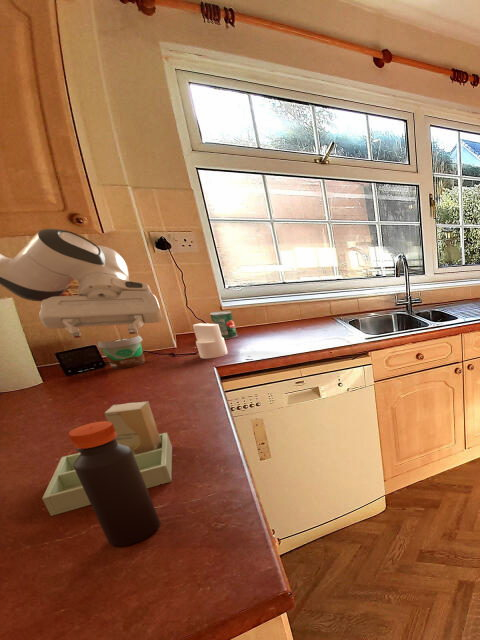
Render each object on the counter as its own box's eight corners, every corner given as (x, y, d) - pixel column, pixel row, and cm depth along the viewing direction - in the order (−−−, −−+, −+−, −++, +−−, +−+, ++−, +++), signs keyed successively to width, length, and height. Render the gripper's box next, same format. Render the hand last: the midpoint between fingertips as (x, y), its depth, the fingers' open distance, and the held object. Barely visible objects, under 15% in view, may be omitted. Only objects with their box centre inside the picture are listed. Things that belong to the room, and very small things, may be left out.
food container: (112, 372, 147) (102, 344, 143) (106, 368, 150) (96, 341, 146) (155, 362, 156) (146, 336, 153) (148, 359, 159) (139, 333, 156)
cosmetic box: (122, 465, 89) (101, 413, 85) (131, 455, 93) (111, 404, 88) (159, 459, 91) (140, 408, 87) (166, 449, 95) (148, 400, 90)
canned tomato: (215, 337, 189) (208, 312, 185) (235, 333, 194) (229, 310, 190) (218, 340, 183) (211, 315, 179) (239, 337, 188) (233, 312, 184)
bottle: (142, 546, 68) (95, 438, 61) (97, 549, 68) (45, 440, 60) (170, 518, 75) (131, 417, 67) (129, 521, 74) (85, 419, 67)
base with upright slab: (233, 351, 167) (225, 322, 163) (214, 359, 159) (205, 328, 155) (213, 350, 169) (205, 321, 164) (194, 357, 161) (184, 327, 156)
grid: (50, 516, 76) (41, 498, 74) (69, 472, 89) (61, 456, 87) (171, 481, 85) (165, 465, 84) (172, 446, 98) (166, 432, 97)
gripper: (36, 285, 92) (30, 326, 85) (156, 283, 104) (160, 319, 97) (47, 308, 96) (43, 349, 89) (162, 304, 108) (166, 339, 101)
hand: (105, 333), depth 93 cm, fingers open, 8 cm apart
